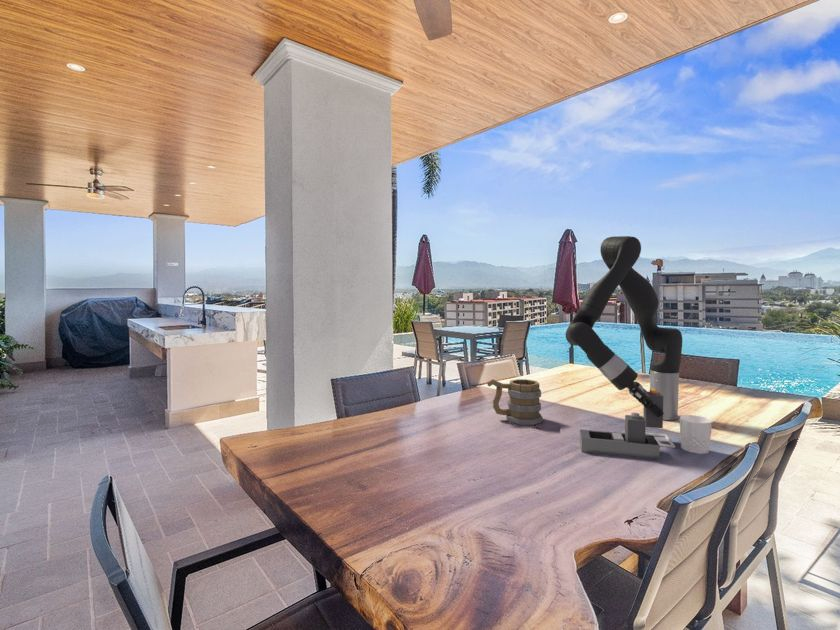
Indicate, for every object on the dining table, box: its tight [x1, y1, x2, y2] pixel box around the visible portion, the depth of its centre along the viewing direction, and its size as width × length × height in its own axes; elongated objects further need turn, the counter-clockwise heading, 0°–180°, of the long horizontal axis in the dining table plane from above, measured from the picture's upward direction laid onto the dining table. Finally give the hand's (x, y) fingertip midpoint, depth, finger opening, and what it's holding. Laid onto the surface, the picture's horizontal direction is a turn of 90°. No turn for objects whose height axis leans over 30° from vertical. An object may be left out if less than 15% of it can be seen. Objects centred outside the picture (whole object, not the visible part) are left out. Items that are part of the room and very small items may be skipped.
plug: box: [642, 388, 664, 429], centre depth 130 cm, size 4×4×11 cm
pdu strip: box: [579, 429, 661, 461], centre depth 123 cm, size 8×20×5 cm, turn 73°
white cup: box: [679, 414, 713, 455], centre depth 123 cm, size 8×8×10 cm
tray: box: [645, 432, 676, 449], centre depth 131 cm, size 10×10×2 cm
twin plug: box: [624, 412, 647, 443], centre depth 121 cm, size 4×4×11 cm
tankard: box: [486, 378, 544, 426], centre depth 155 cm, size 20×13×15 cm, turn 84°
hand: (659, 412), depth 130 cm, fingers closed on plug, 4 cm apart
